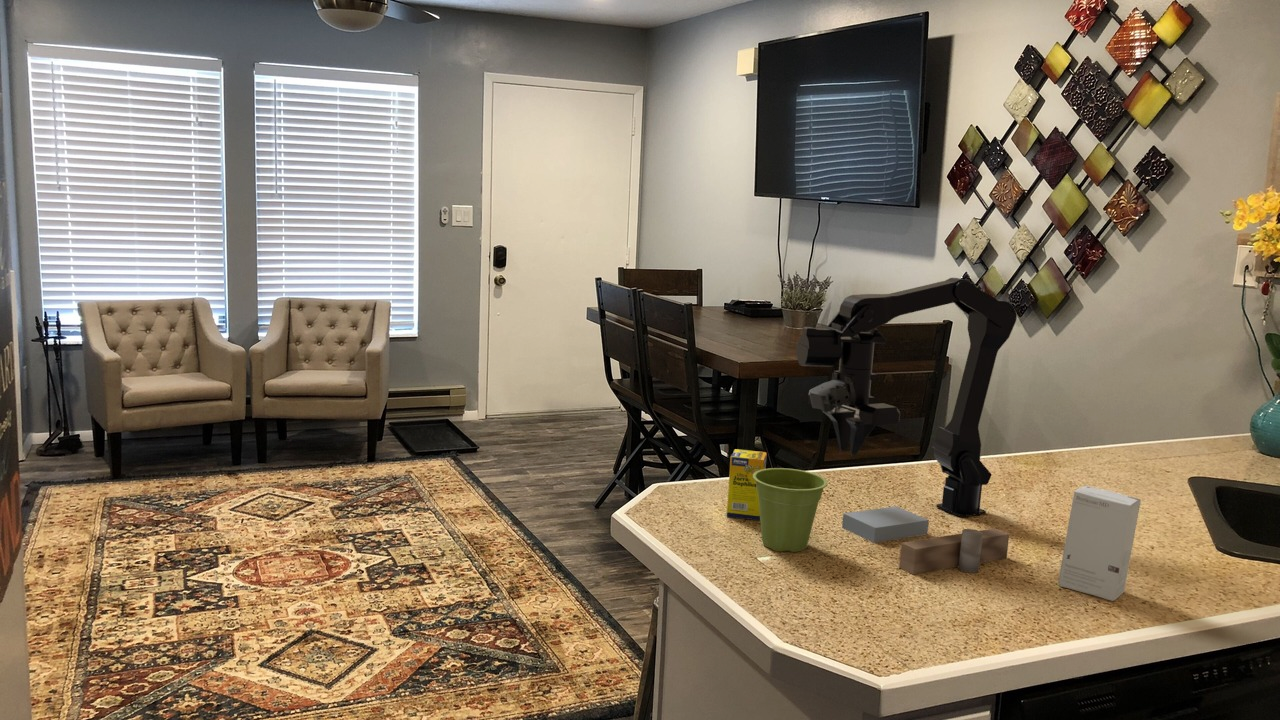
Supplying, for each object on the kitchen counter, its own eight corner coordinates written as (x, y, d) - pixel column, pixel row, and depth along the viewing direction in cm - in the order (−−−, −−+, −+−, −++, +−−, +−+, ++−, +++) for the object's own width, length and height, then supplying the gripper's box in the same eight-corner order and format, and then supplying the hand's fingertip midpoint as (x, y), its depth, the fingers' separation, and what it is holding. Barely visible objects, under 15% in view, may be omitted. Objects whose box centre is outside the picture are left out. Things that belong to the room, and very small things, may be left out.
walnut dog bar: (992, 551, 162) (996, 516, 161) (1021, 564, 157) (1025, 528, 156) (899, 567, 152) (902, 530, 151) (927, 581, 147) (931, 542, 146)
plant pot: (739, 550, 156) (744, 481, 155) (758, 528, 167) (763, 464, 166) (813, 563, 152) (819, 493, 150) (828, 540, 163) (834, 474, 161)
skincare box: (1057, 586, 148) (1069, 490, 146) (1070, 576, 152) (1081, 483, 150) (1117, 603, 143) (1130, 503, 140) (1128, 592, 147) (1141, 495, 145)
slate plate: (894, 522, 176) (895, 506, 176) (927, 536, 169) (928, 520, 169) (841, 530, 170) (843, 513, 170) (873, 545, 163) (875, 527, 163)
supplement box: (760, 521, 172) (764, 459, 170) (725, 517, 173) (729, 456, 171) (763, 511, 177) (767, 451, 176) (729, 507, 179) (733, 448, 177)
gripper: (787, 359, 179) (780, 443, 182) (854, 378, 163) (846, 470, 166) (835, 357, 185) (828, 439, 187) (905, 375, 168) (897, 464, 171)
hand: (848, 452), depth 177 cm, fingers open, 3 cm apart
